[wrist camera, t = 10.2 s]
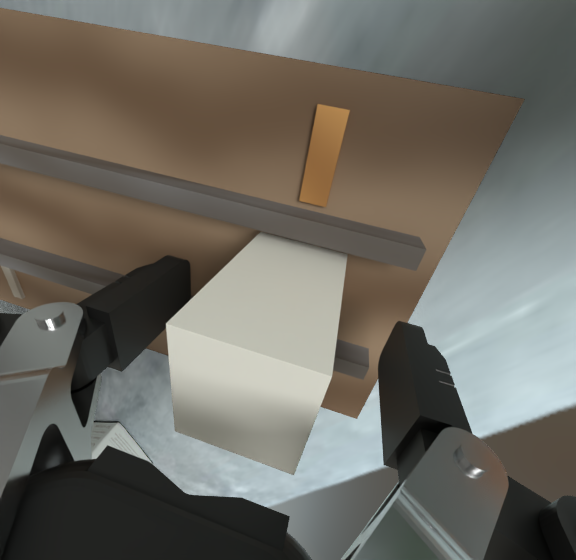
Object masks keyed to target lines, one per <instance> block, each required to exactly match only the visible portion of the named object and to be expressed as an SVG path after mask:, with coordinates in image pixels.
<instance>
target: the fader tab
mask: <svg viewBox="0 0 576 560" xmlns="http://www.w3.org/2000/svg"><path fill="white" fill-rule="evenodd" d="M347 255H348V254H345V253H341V252H337V251H334V250H330V249H326V248H322V247H318V246H314V245H310V244H307V243H303V242H299V241H295V240H291V239H287V238H283V237H280V236H276V235H272V234H268V233H264V232H260V233H259V234H258V235H257V236H256V237H255V238H254V239H253V240H252V241H251V242H250V243H249V244H248V245H247V246H246V247H244V248H243V249H242V250H241V251H240V252H239V253H238V254H237V255H236V256H235V257H234V258H233V259H232V260H231V261H230V262H229V263H228V264H227V265H226V266H225V267H224V268H223V269H222V270H221V271H220V272H219V273H218V274H217V275H216V276H215V277H213V278H212V279H211V280H210V281H209V282H208V283H207V284H206V285H205V286H204V287H203V288H202V289H201V290H200V291H199V292H198V293H197V294H196V295H195V296H194V297H193V298H192V299H191V300H190V301H189V302H188V303H187V304H186V305H185V306H184V307H182V308H181V309H180V310H179V311H178V312H177V313H176V314H175V315H174V316H173V317H172V318H171V319H170V320H169V321H168V322H167V323H166V331H167V343H168V355H169V367H170V378H171V390H172V402H173V414H174V425H175V431H176V432H179V433H182V434H184V435H187V436H190V437H192V438H195V439H198V440H201V441H203V442H206V443H209V444H211V445H214V446H217V447H219V448H222V449H225V450H227V451H230V452H233V453H236V454H238V455H241V456H244V457H246V458H249V459H252V460H254V461H257V462H260V463H262V464H265V465H268V466H271V467H273V468H276V469H279V470H281V471H284V472H287V473H289V474H292V475H294V473H295V471H296V468H297V466H298V463H299V461H300V458H301V455H302V453H303V450H304V448H305V445H306V442H307V440H308V437H309V435H310V432H311V430H312V427H313V424H314V422H315V419H316V417H317V414H318V412H319V409H320V406H321V404H322V401H323V399H324V396H325V394H326V391H327V388H328V386H329V383H330V381H331V378H332V373H333V365H334V357H335V350H336V342H337V334H338V326H339V318H340V310H341V302H342V294H343V287H344V279H345V271H346V263H347Z"/></svg>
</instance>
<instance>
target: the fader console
mask: <svg viewBox="0 0 576 560" xmlns="http://www.w3.org/2000/svg"><path fill="white" fill-rule="evenodd" d="M524 100H525V99H522V98H516V97H510V96H505V95H499V94H493V93H487V92H482V91H476V90H470V89H464V88H459V87H453V86H447V85H441V84H436V83H430V82H424V81H418V80H413V79H407V78H401V77H395V76H389V75H384V74H378V73H372V72H366V71H361V70H355V69H349V68H343V67H338V66H332V65H326V64H320V63H315V62H309V61H303V60H297V59H292V58H286V57H280V56H274V55H268V54H263V53H257V52H251V51H245V50H240V49H234V48H228V47H222V46H217V45H211V44H205V43H199V42H194V41H188V40H182V39H176V38H171V37H165V36H159V35H153V34H147V33H142V32H136V31H130V30H124V29H119V28H113V27H107V26H101V25H96V24H90V23H84V22H78V21H73V20H67V19H61V18H55V17H50V16H44V15H38V14H32V13H26V12H21V11H15V10H9V9H3V8H0V300H3V301H6V302H9V303H12V304H15V305H18V306H21V307H24V308H27V309H30V310H31V309H33V308H36V307H39V306H41V305H45V304H50V303H57V302H68V303H74V304H77V303H79V302H81V301H82V300H84V299H86V298H87V297H89V296H91V295H92V294H94V293H96V292H97V291H99V290H101V289H102V288H104V287H106V286H107V285H109V284H111V283H112V282H114V283H115V281H116V280H117V279H119V278H121V277H122V276H124V277H125V275H126V274H128V273H129V272H131V271H133V270H134V269H136V268H138V267H142V266H145V265H148V264H151V263H152V264H153V263H155V262H156V261H158V260H160V259H161V258H163V257H164V256H166V255H171V256H175V257H178V258H182V259H185V260H188V261H189V263H190V269H191V298H190V300H191V299H192V298H193V297H194V296H195V295H196V294H197V293H198V292H199V291H200V290H201V289H202V288H203V287H204V286H205V285H206V284H207V283H208V282H209V281H210V280H211V279H212V278H213V277H215V276H216V275H217V274H218V273H219V272H220V271H221V270H222V269H223V268H224V267H225V266H226V265H227V264H228V263H229V262H230V261H231V260H232V259H233V258H234V257H235V256H236V255H237V254H238V253H239V252H240V251H241V250H242V249H243V248H244V247H246V246H247V245H248V244H249V243H250V242H251V241H252V240H253V239H254V238H255V237H256V236H257V235H258V234H259V233H260V232H264V233H268V234H272V235H276V236H280V237H283V238H287V239H291V240H295V241H299V242H303V243H307V244H310V245H314V246H318V247H322V248H326V249H330V250H334V251H337V252H341V253H345V254H348V255H347V263H346V271H345V279H344V287H343V294H342V302H341V310H340V318H339V326H338V334H337V342H336V350H335V357H334V365H333V373H332V378H331V381H330V383H329V386H328V388H327V391H326V394H325V396H324V399H323V401H322V404H321V406H320V407H323V408H326V409H329V410H332V411H335V412H338V413H341V414H344V415H347V416H350V417H353V418H356V419H357V417H358V416H359V414H360V412H361V410H362V408H363V406H364V404H365V402H366V400H367V398H368V397H369V395H370V393H371V391H372V389H373V387H374V385H375V383H376V381H377V379H378V362H379V358H380V354H381V352H382V350H383V348H384V346H385V344H386V342H387V340H388V338H389V336H390V334H391V332H392V330H393V328H394V326H395V324H396V323H397V322H398V321H402V322H405V323H407V322H408V320H409V318H410V317H411V315H412V313H413V311H414V309H415V307H416V305H417V303H418V301H419V299H420V298H421V296H422V294H423V292H424V290H425V288H426V286H427V284H428V282H429V280H430V278H431V277H432V275H433V273H434V271H435V269H436V267H437V265H438V263H439V261H440V259H441V258H442V256H443V254H444V252H445V250H446V248H447V246H448V244H449V242H450V240H451V239H452V237H453V235H454V233H455V231H456V229H457V227H458V225H459V223H460V221H461V219H462V218H463V216H464V214H465V212H466V210H467V208H468V206H469V204H470V202H471V200H472V199H473V197H474V195H475V193H476V191H477V189H478V187H479V185H480V183H481V181H482V179H483V178H484V176H485V174H486V172H487V170H488V168H489V166H490V164H491V162H492V160H493V159H494V157H495V155H496V153H497V151H498V149H499V147H500V145H501V143H502V141H503V140H504V138H505V136H506V134H507V132H508V130H509V128H510V126H511V124H512V122H513V120H514V119H515V117H516V115H517V113H518V111H519V109H520V107H521V105H522V103H523V101H524ZM146 348H147V349H150V350H153V351H156V352H159V353H162V354H165V355H168V343H167V331H166V329H165V330H164V331H163V332H162V333H161V334H159V335H158V336H157V337H156V338H155V339H154V340H153V341H152V342H151V343H150V344H149V345H148V346H147V347H146ZM168 356H169V355H168Z"/></svg>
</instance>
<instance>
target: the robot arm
mask: <svg viewBox="0 0 576 560" xmlns="http://www.w3.org/2000/svg"><path fill="white" fill-rule="evenodd" d="M190 298H191V269H190V263H189V261H188V260H185V259H182V258H178V257H175V256H171V255H166V256H164V257H163V258H161V259H160V260H158V261H156V262H155V263H153V264H152V263H151V264H148V265H145V266H142V267H138V268H136V269H134V270H133V271H131V272H129V273H128V274H126V275H125V277H124V276H122V277H121V278H119V279H117V280H116V281H115V283H114V282H112V283H111V284H109V285H107V286H106V287H104V288H102V289H101V290H99V291H97V292H96V293H94V294H92V295H91V296H89V297H87V298H86V299H84V300H82V301H81V302H79V303H77V304H74V303H68V302H57V303H50V304H45V305H41V306H39V307H36V308H33V309H31V310H29V311H27V312H26V313H24V314H23V315H22V314H5V313H0V560H312V559H311V557H310V556H309V555H308V553H307V552H306V550H305V549H304V548H303V547H302V546H301V545H300V544H299V543H298V542H297V541H296V540H295V539H294V538H293V537H292V536H291V535H290V534H288V533H287V527H288V522H289V516H287V515H284V514H282V513H279V512H277V511H274V510H272V509H269V508H267V507H264V506H261V505H259V504H256V503H254V502H251V501H249V500H246V499H244V498H237V497H218V496H199V495H189V494H186V493H184V492H183V491H182V490H181V489H180V488H178V487H177V486H176V485H175V484H174V483H173V482H172V481H171V480H169V479H168V478H167V477H166V476H165V475H164V474H163V473H162V472H160V471H159V470H158V469H157V468H156V467H155V466H154V465H153V464H151V463H150V462H149V461H147V460H144V459H141V458H139V457H136V456H134V455H131V454H129V453H126V452H124V451H121V450H118V449H116V448H113V447H111V446H108V445H107V446H106V448H105V449H104V450H103V451H102V452H101V454H100V455H99V456H98V457H97V459H92V450H91V433H92V427H93V422H94V417H95V412H96V407H97V402H98V396H99V391H100V386H101V381H102V376H101V372H102V371H103V370H104V369H106V368H107V367H110V368H113V369H116V370H119V371H123V370H124V369H125V368H126V367H127V366H128V365H129V364H130V363H131V362H132V361H133V360H134V359H135V358H136V357H137V356H138V355H139V354H140V353H141V352H142V351H143V350H144V349H145V348H146V347H147V346H148V345H149V344H150V343H151V342H152V341H153V340H154V339H155V338H156V337H157V336H158V335H159V334H161V333H162V332H163V331H164V330H165V329H166V323H167V322H168V321H169V320H170V319H171V318H172V317H173V316H174V315H175V314H176V313H177V312H178V311H179V310H180V309H181V308H182V307H184V306H185V305H186V304H187V303H188V302H189V301H190ZM378 380H379V396H380V412H381V428H382V444H383V460H384V465H386V466H389V467H391V468H395V469H397V470H398V476H399V482H398V484H397V485H396V486H395V487H394V488H393V490H392V491H391V493H390V494H389V495H388V497H387V498H386V499H385V501H384V502H383V504H382V505H381V506H380V508H379V509H378V510H377V512H376V513H375V514H374V516H373V517H372V518H371V520H370V521H369V523H368V524H367V525H366V527H365V528H364V529H363V531H362V532H361V533H360V535H359V536H358V538H357V539H356V540H355V542H354V543H353V544H352V546H351V547H350V548H349V549H348V551H347V552H346V553H345V554H344V556H343V557H342V558H341V560H576V497H573V496H563V497H561V498H559V499H558V500H556V501H554V502H553V503H550V502H549V501H547V500H546V499H544V498H543V497H541V496H539V495H538V494H536V493H534V492H532V491H531V490H530V489H528V488H526V487H525V486H523V485H521V484H520V483H518V482H517V481H515V480H513V479H512V478H510V477H509V476H507V473H506V471H505V469H504V467H503V465H502V463H501V461H500V460H499V458H498V457H497V456H496V454H495V453H494V452H493V451H492V450H491V449H490V448H489V447H488V445H486V444H485V443H484V442H483V441H482V440H480V439H479V438H478V437H476V436H475V435H473V434H472V431H471V428H470V426H469V423H468V420H467V417H466V415H465V412H464V409H463V406H462V404H461V401H460V398H459V395H458V393H457V390H456V388H454V385H455V384H454V382H453V379H452V376H450V371H449V368H448V365H447V362H446V360H445V358H444V357H443V356H442V355H441V353H440V352H439V351H438V350H437V348H436V347H435V346H432V345H429V344H428V343H427V340H426V337H425V333H424V330H423V328H422V327H420V326H416V325H412V324H409V323H405V322H402V321H398V322H397V323H396V324H395V326H394V328H393V330H392V332H391V334H390V336H389V338H388V340H387V342H386V344H385V346H384V348H383V350H382V352H381V354H380V358H379V362H378Z"/></svg>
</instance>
